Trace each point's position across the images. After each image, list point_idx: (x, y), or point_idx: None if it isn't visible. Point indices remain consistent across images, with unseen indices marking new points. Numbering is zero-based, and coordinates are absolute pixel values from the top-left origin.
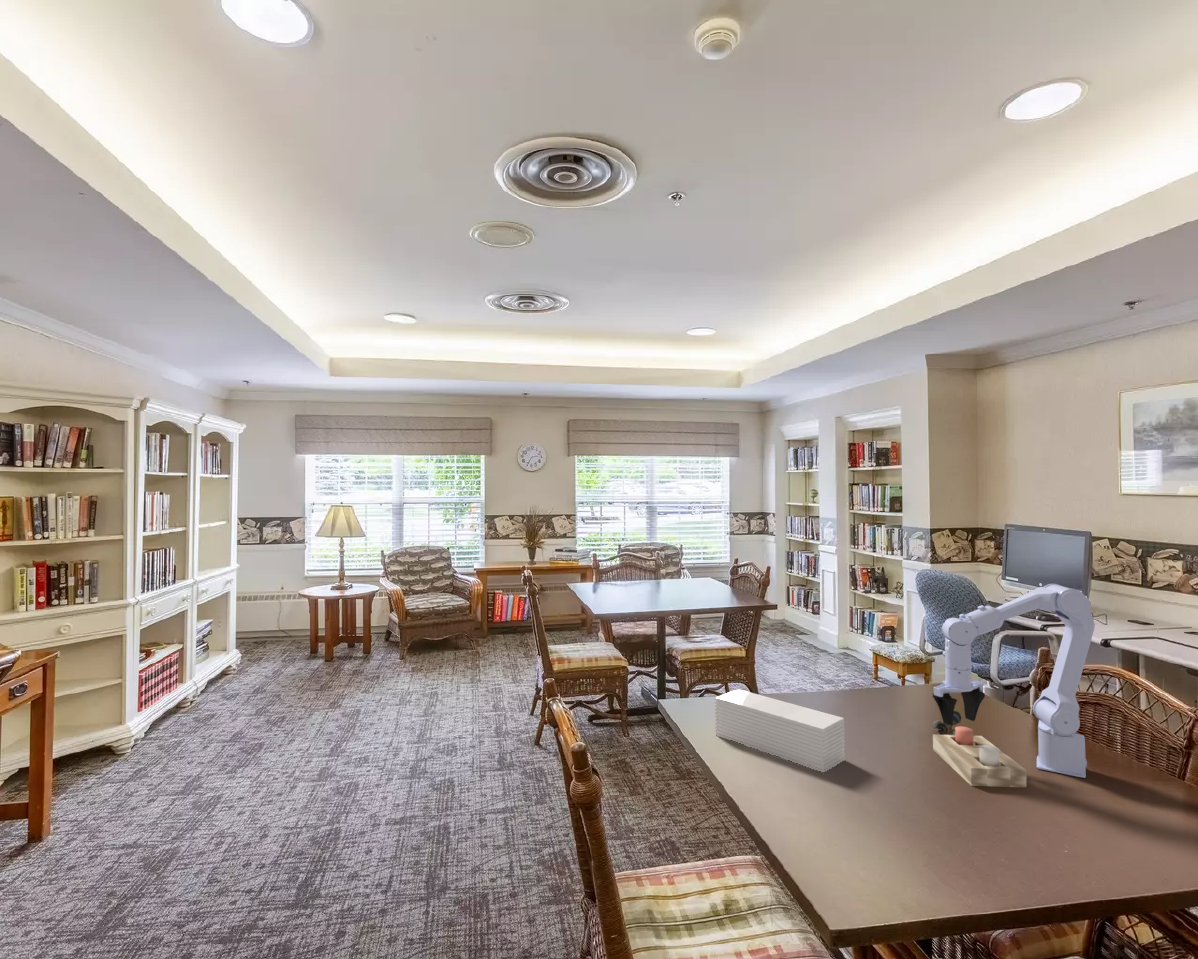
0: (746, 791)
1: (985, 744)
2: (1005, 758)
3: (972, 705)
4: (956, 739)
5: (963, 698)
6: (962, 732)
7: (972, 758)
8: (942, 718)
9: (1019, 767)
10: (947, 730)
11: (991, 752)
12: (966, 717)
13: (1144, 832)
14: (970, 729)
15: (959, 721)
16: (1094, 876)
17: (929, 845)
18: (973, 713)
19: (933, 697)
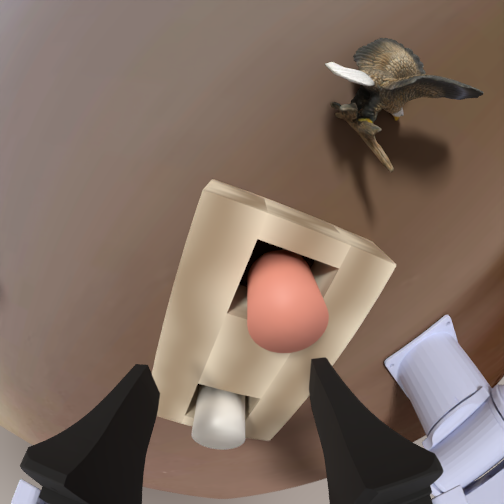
0: None
1: (329, 332)
2: (283, 406)
3: (327, 455)
4: (249, 287)
5: (343, 447)
6: (254, 337)
7: (187, 388)
8: (125, 377)
9: (265, 434)
10: (358, 123)
11: (205, 445)
12: (311, 366)
13: (293, 475)
14: (314, 331)
15: (458, 98)
16: (159, 483)
17: (34, 417)
18: (316, 423)
19: (34, 447)
